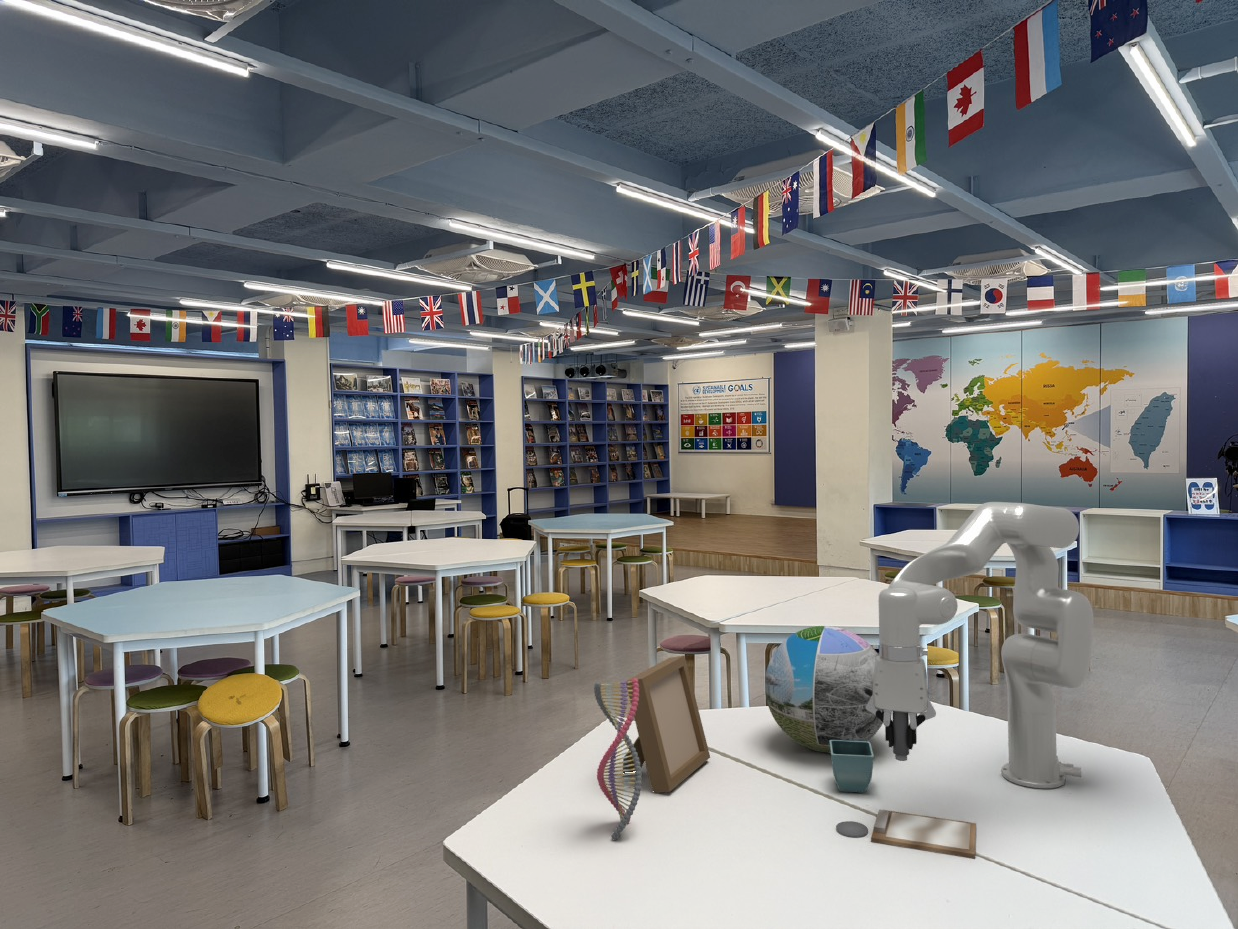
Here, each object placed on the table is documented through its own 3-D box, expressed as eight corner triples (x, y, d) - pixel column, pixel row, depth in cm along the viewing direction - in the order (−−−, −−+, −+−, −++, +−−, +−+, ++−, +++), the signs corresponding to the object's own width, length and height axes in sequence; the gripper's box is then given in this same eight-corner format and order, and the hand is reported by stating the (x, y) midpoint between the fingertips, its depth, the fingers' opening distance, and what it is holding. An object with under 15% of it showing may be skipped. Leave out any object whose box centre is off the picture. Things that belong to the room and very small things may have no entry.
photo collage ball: (796, 720, 225) (793, 610, 224) (908, 741, 207) (905, 621, 207) (745, 756, 201) (742, 633, 200) (867, 782, 183) (864, 647, 183)
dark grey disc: (870, 826, 162) (870, 824, 162) (865, 839, 157) (865, 837, 157) (838, 821, 165) (838, 819, 165) (833, 834, 159) (833, 832, 159)
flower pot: (875, 798, 175) (874, 755, 175) (832, 795, 177) (831, 754, 177) (871, 781, 184) (870, 741, 184) (830, 779, 186) (829, 739, 185)
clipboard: (976, 827, 161) (976, 818, 160) (975, 858, 149) (974, 848, 149) (879, 813, 168) (879, 804, 168) (871, 841, 156) (870, 832, 156)
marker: (910, 757, 163) (909, 694, 163) (909, 763, 160) (908, 698, 160) (893, 755, 164) (892, 692, 164) (891, 760, 161) (890, 696, 161)
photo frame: (710, 761, 198) (706, 657, 198) (670, 796, 179) (665, 681, 179) (655, 752, 205) (651, 652, 205) (611, 785, 186) (606, 674, 186)
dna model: (649, 823, 166) (644, 675, 166) (635, 844, 158) (630, 688, 157) (607, 818, 169) (602, 672, 169) (591, 838, 161) (587, 685, 160)
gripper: (945, 651, 162) (946, 745, 162) (859, 645, 169) (860, 734, 169) (943, 660, 155) (944, 758, 155) (853, 653, 162) (855, 747, 162)
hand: (901, 745), depth 162 cm, fingers closed on marker, 3 cm apart
